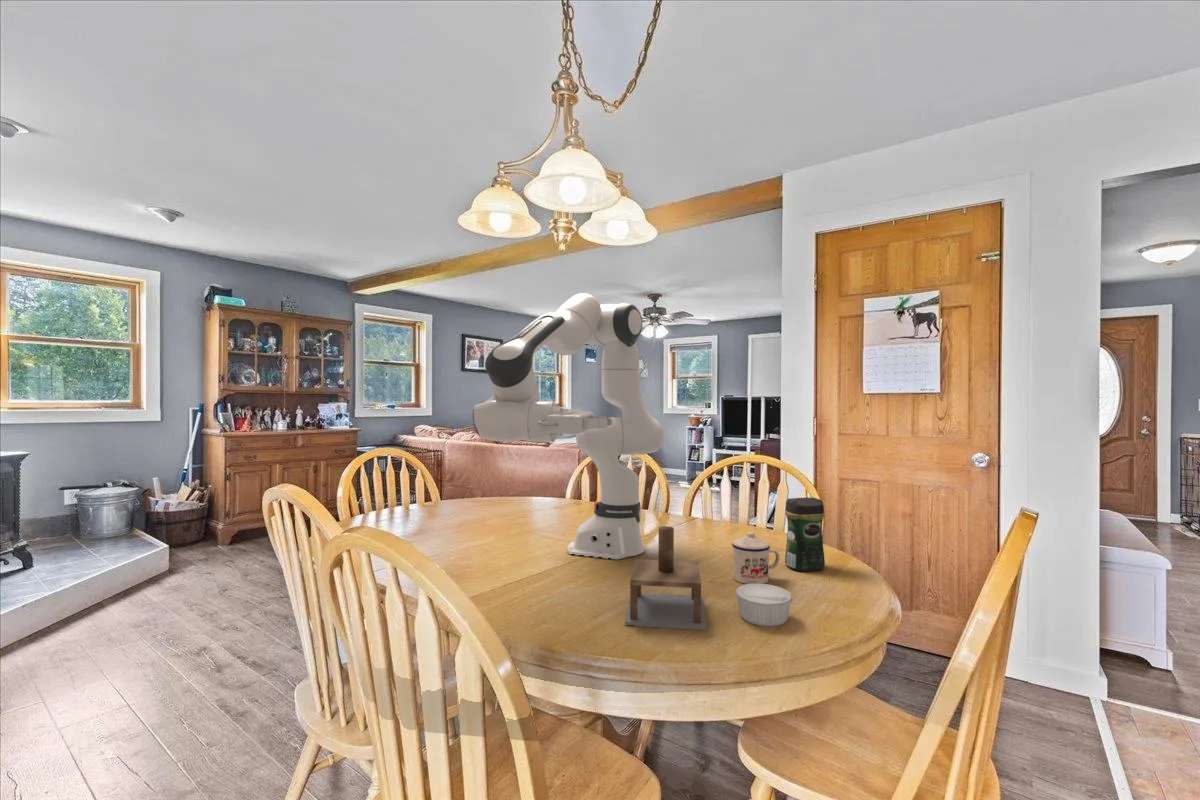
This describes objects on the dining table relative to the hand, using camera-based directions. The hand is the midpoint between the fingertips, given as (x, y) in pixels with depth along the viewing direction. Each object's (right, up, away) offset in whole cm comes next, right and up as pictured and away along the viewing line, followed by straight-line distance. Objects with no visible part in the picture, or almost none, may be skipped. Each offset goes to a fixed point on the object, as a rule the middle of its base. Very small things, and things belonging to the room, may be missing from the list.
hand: (609, 422), depth 119 cm
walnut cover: (+12, -39, -1) cm, 41 cm away
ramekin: (+32, -40, -3) cm, 52 cm away
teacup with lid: (+37, -40, +20) cm, 58 cm away
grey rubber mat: (+12, -40, -1) cm, 42 cm away
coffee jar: (+52, -40, +29) cm, 72 cm away
